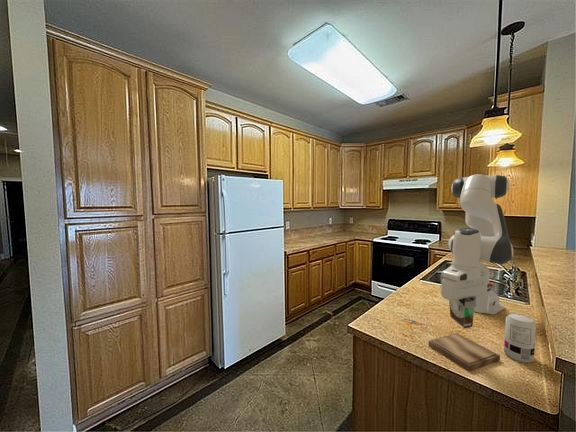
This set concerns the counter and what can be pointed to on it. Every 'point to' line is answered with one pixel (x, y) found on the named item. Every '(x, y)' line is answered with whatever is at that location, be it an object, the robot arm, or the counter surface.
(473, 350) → the base
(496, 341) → the counter surface
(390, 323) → the counter surface
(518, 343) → the supplement can
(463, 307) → the food container
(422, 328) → the key chain
